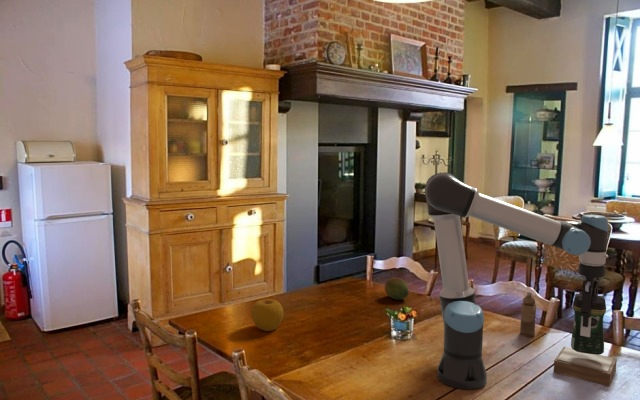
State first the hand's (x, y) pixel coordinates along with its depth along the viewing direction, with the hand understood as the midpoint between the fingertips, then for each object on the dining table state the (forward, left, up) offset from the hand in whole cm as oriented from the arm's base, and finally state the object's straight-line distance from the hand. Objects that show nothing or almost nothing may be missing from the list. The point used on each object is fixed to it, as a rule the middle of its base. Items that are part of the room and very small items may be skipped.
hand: (587, 331), depth 164 cm
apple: (-36, +108, -14) cm, 115 cm away
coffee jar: (0, 0, -7) cm, 6 cm away
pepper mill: (+22, +24, -13) cm, 35 cm away
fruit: (+31, +86, -14) cm, 92 cm away
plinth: (0, 0, -13) cm, 13 cm away
